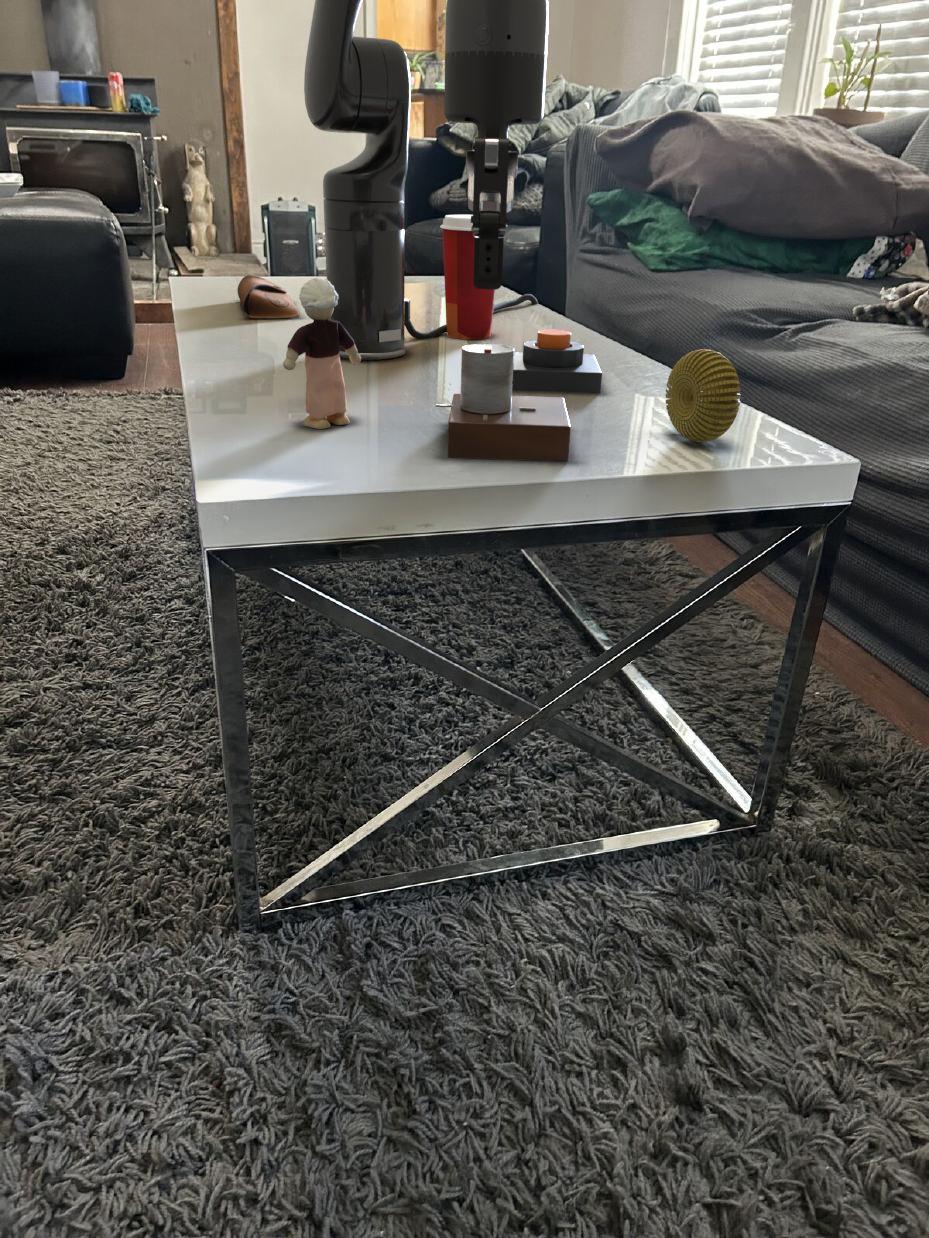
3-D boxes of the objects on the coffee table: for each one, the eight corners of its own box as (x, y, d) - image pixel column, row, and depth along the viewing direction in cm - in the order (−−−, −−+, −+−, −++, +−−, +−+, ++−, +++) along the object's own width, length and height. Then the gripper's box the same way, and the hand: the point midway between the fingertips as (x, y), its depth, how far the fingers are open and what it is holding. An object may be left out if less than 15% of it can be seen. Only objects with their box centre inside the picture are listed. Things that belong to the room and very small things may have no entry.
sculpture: (652, 431, 88) (662, 342, 85) (687, 427, 90) (699, 340, 86) (704, 454, 82) (718, 360, 78) (742, 450, 83) (757, 357, 80)
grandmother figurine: (338, 412, 91) (334, 272, 85) (367, 420, 89) (364, 277, 83) (276, 428, 86) (267, 279, 80) (305, 436, 84) (298, 284, 78)
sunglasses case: (303, 314, 138) (277, 273, 135) (263, 341, 138) (235, 300, 135) (291, 297, 154) (267, 259, 151) (254, 320, 154) (229, 283, 151)
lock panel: (438, 425, 88) (439, 391, 87) (561, 429, 88) (563, 395, 86) (431, 457, 79) (432, 419, 78) (568, 462, 79) (571, 424, 78)
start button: (536, 345, 106) (537, 328, 105) (568, 346, 106) (569, 329, 105) (537, 351, 103) (538, 334, 102) (570, 352, 103) (572, 335, 102)
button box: (505, 370, 110) (507, 335, 109) (592, 373, 110) (595, 338, 108) (506, 390, 101) (507, 352, 100) (600, 393, 101) (603, 355, 99)
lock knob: (461, 400, 84) (462, 339, 82) (511, 402, 84) (514, 340, 82) (459, 413, 80) (460, 348, 78) (511, 414, 80) (514, 350, 78)
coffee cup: (509, 334, 131) (515, 216, 125) (480, 343, 125) (484, 219, 118) (457, 327, 135) (460, 213, 129) (426, 336, 129) (427, 215, 122)
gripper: (551, 42, 64) (537, 295, 71) (543, 60, 77) (532, 274, 84) (439, 39, 64) (436, 292, 71) (449, 58, 77) (446, 271, 84)
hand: (488, 282), depth 77 cm, fingers open, 8 cm apart
